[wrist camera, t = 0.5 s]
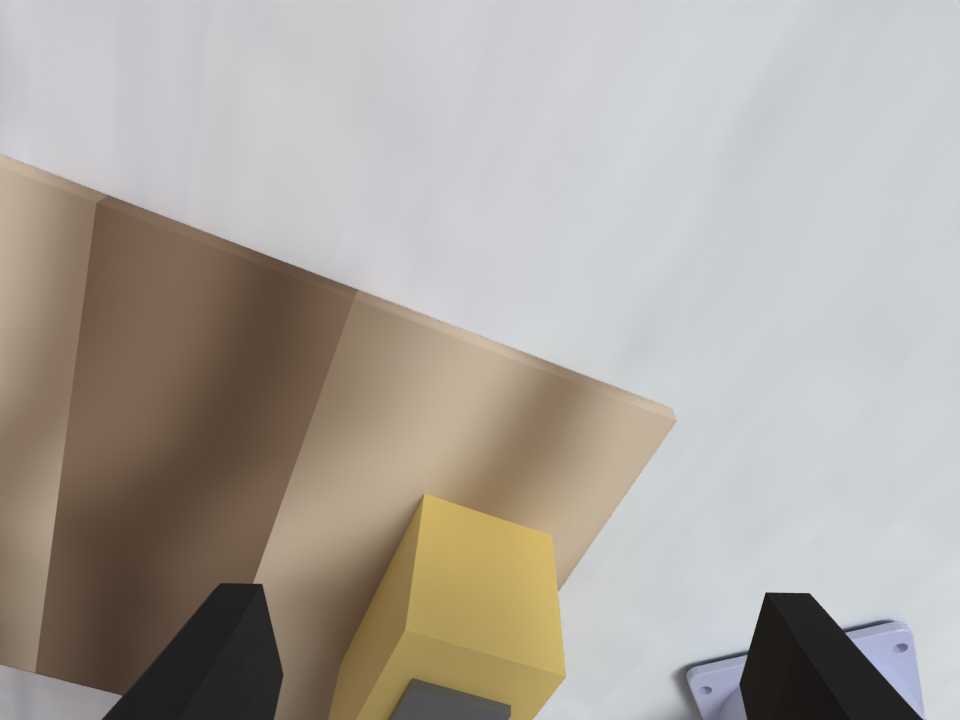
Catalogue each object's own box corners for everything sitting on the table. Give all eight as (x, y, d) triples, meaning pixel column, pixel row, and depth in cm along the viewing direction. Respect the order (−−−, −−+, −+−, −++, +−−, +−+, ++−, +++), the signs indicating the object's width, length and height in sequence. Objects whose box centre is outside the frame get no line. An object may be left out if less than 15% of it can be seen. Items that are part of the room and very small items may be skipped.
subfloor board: (672, 408, 20) (676, 420, 19) (433, 759, 29) (432, 773, 29) (-4, 153, 17) (-20, 159, 16) (-29, 640, 26) (-40, 654, 26)
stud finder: (552, 535, 22) (566, 687, 17) (450, 693, 26) (440, 848, 22) (424, 493, 21) (403, 640, 16) (340, 662, 25) (306, 817, 21)
